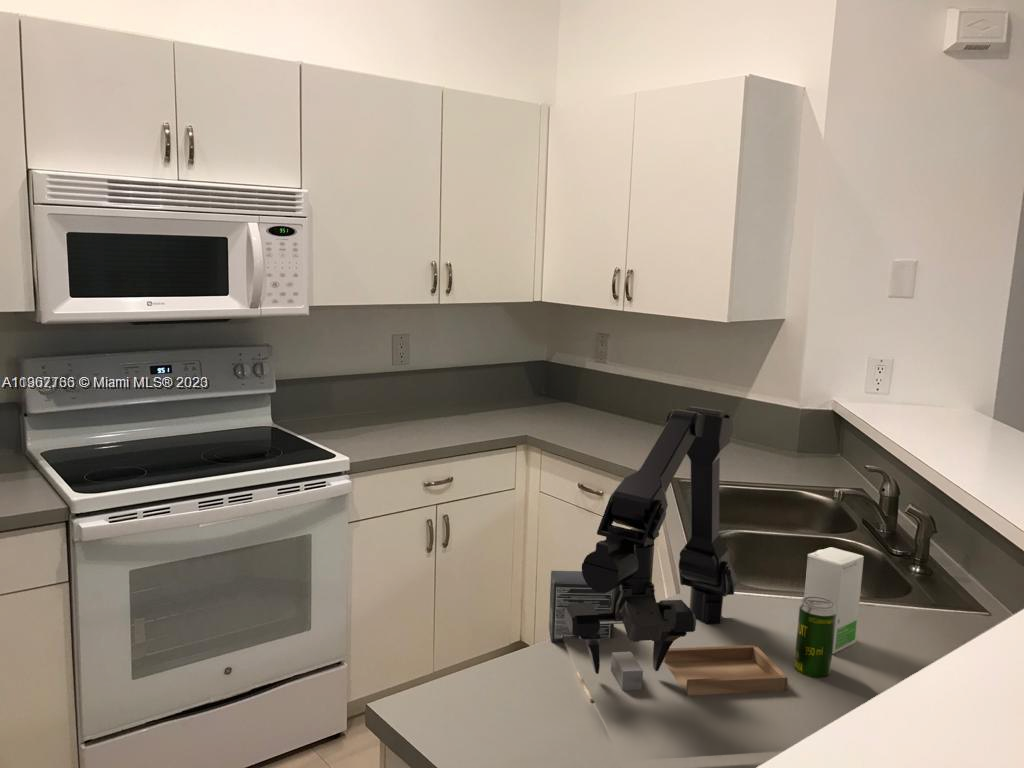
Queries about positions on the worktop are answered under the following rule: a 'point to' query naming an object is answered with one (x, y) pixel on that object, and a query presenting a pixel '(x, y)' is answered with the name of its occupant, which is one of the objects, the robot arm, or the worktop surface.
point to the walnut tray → (724, 670)
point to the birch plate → (622, 672)
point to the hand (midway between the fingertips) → (626, 671)
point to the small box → (574, 590)
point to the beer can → (815, 637)
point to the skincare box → (837, 589)
